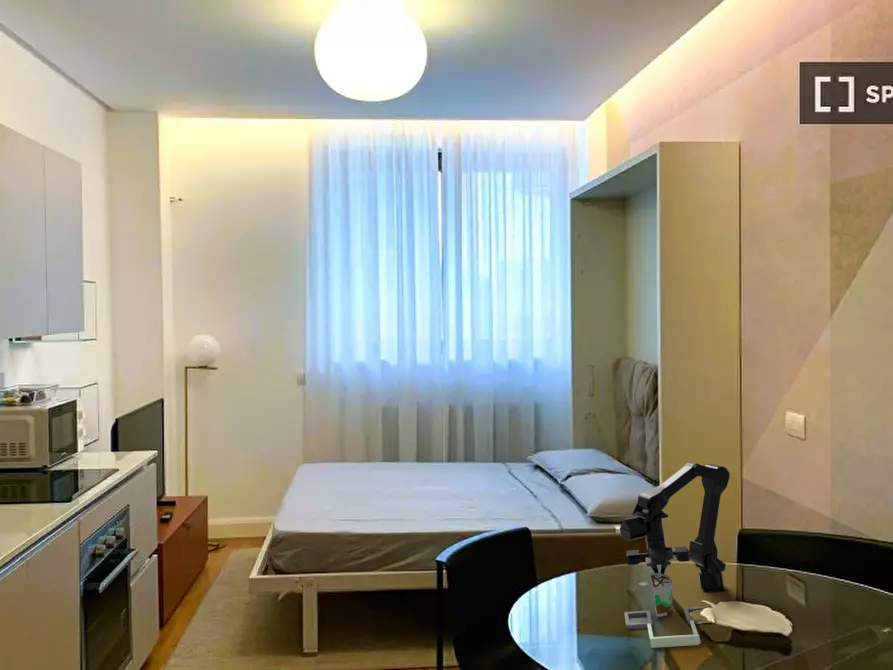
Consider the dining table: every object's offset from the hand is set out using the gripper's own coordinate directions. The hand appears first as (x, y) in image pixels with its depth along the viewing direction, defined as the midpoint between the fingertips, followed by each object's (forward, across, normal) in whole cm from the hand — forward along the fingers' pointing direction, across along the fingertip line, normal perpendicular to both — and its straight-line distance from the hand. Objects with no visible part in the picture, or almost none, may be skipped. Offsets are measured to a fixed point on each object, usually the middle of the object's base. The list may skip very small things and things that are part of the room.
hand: (660, 582), depth 233 cm
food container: (+6, 0, -7) cm, 10 cm away
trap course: (+6, +1, -19) cm, 20 cm away
